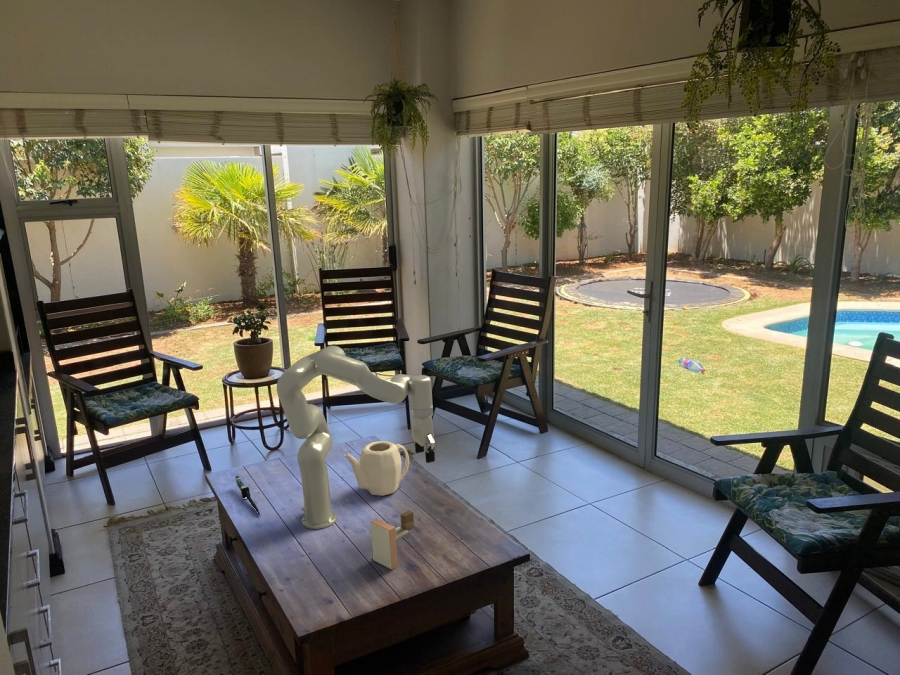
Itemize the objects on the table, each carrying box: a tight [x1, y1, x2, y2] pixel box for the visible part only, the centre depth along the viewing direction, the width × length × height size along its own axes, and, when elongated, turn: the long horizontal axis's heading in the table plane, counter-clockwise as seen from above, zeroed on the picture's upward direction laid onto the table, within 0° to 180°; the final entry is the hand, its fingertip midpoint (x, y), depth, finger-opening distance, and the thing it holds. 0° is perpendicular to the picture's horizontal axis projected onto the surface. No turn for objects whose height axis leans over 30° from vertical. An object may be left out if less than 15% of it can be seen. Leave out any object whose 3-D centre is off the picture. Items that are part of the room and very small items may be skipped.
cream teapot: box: [344, 440, 410, 497], centre depth 267 cm, size 16×27×19 cm, turn 118°
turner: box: [395, 509, 415, 541], centre depth 234 cm, size 5×16×6 cm, turn 138°
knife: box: [235, 475, 261, 517], centre depth 264 cm, size 31×3×4 cm, turn 29°
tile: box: [370, 518, 399, 571], centre depth 216 cm, size 9×3×14 cm, turn 48°
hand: (425, 457), depth 237 cm, fingers open, 9 cm apart
